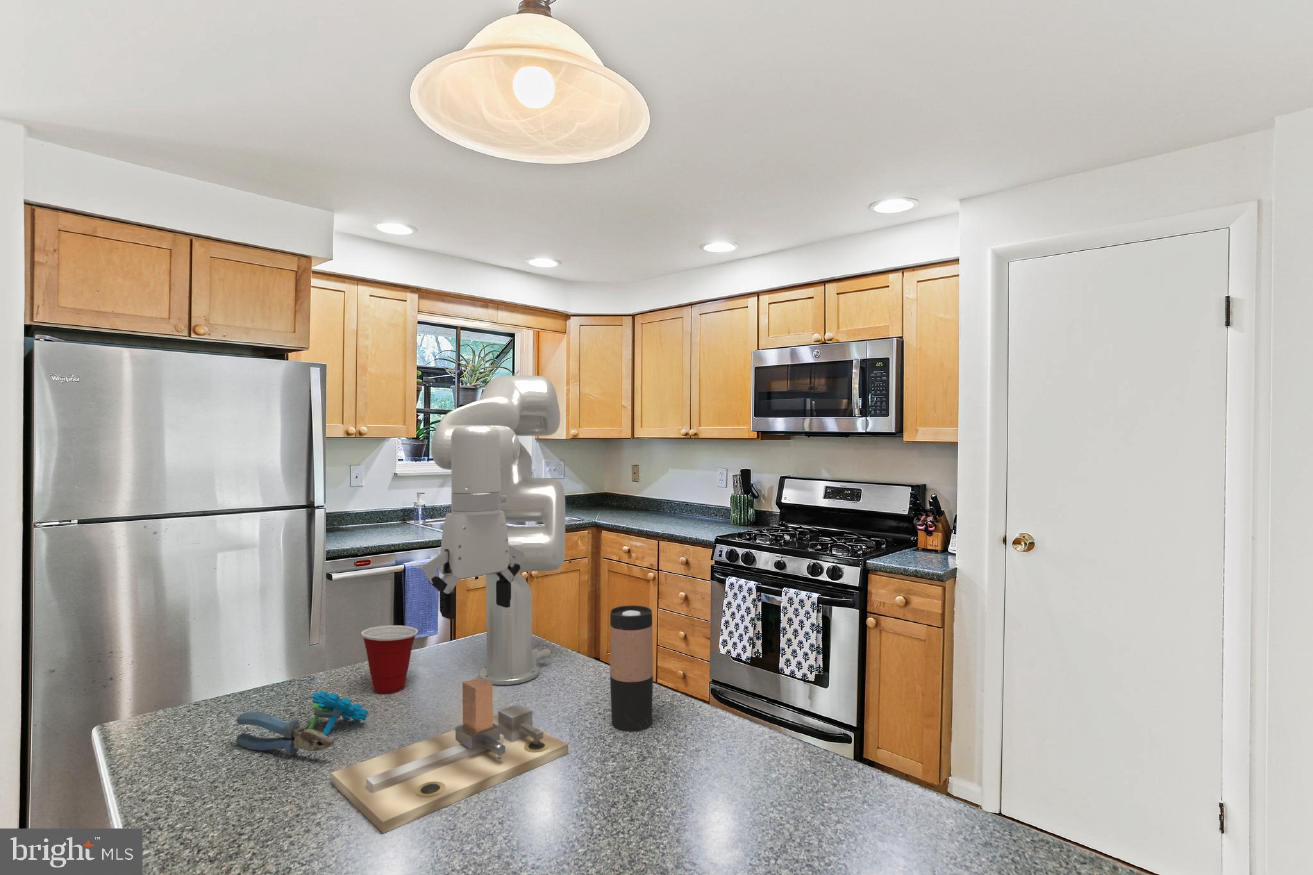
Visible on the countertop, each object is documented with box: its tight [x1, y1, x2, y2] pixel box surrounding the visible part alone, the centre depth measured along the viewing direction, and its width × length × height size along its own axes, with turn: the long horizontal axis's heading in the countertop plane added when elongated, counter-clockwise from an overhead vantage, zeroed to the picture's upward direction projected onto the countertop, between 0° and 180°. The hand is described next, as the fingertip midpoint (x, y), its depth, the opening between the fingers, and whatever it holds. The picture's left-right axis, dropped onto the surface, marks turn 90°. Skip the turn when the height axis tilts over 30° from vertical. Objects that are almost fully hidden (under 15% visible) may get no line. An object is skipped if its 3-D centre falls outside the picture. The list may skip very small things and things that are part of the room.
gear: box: [307, 690, 370, 737], centre depth 116 cm, size 11×6×10 cm
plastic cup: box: [360, 624, 419, 695], centre depth 135 cm, size 11×11×12 cm
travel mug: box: [609, 604, 654, 732], centre depth 119 cm, size 8×8×20 cm
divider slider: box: [454, 677, 505, 760], centre depth 104 cm, size 5×10×10 cm, turn 45°
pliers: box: [235, 711, 335, 756], centre depth 108 cm, size 20×2×6 cm, turn 69°
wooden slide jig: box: [330, 703, 569, 834], centre depth 103 cm, size 30×18×6 cm, turn 135°
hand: (476, 611), depth 106 cm, fingers open, 9 cm apart
